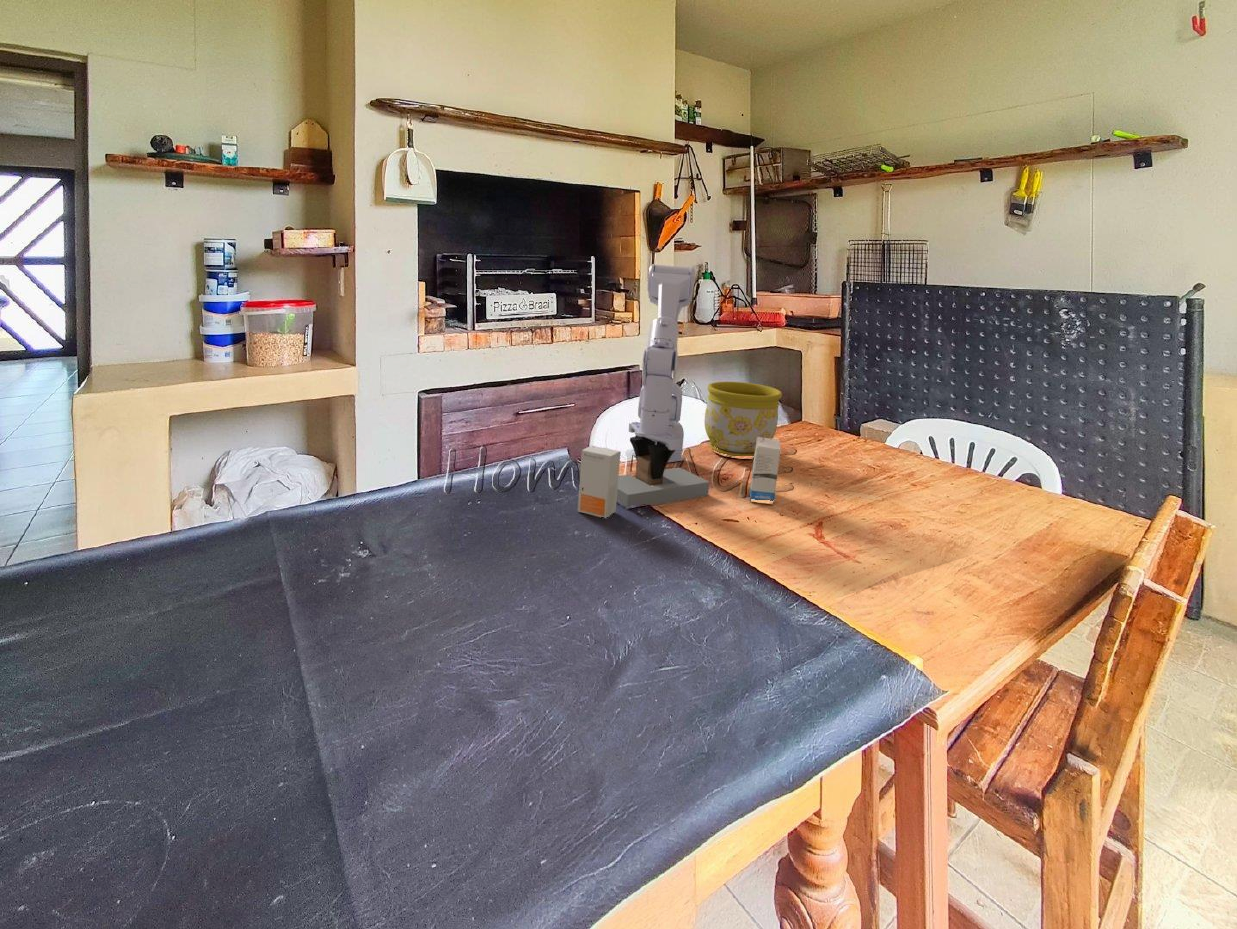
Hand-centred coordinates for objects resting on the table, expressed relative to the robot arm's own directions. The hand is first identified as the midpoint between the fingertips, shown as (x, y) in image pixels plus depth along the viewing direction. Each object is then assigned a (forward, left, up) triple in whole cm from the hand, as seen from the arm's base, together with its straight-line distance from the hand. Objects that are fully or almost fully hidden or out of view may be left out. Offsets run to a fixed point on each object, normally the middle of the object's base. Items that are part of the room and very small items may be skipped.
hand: (649, 474), depth 139 cm
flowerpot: (-38, -15, -4) cm, 41 cm away
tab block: (0, 0, -2) cm, 2 cm away
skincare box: (+16, +6, -4) cm, 17 cm away
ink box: (-20, +12, -4) cm, 24 cm away
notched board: (0, +2, -3) cm, 4 cm away
